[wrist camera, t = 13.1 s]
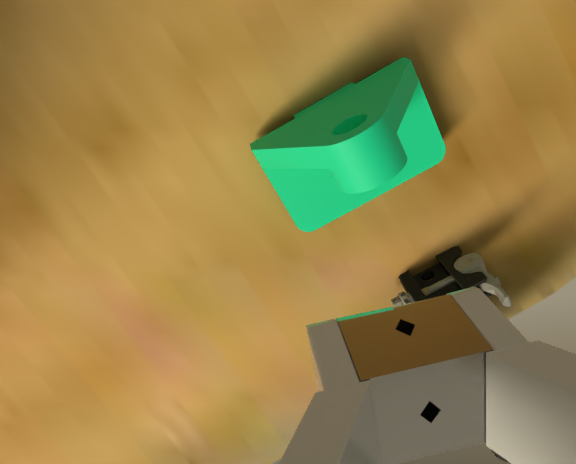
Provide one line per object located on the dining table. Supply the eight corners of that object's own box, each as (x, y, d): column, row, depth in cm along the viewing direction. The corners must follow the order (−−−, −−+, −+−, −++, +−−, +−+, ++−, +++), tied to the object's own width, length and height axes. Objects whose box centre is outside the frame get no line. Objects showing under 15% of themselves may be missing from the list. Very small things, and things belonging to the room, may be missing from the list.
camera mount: (297, 222, 40) (322, 291, 31) (249, 140, 37) (260, 188, 28) (435, 147, 39) (504, 194, 30) (397, 55, 36) (461, 76, 27)
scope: (570, 341, 30) (602, 442, 35) (466, 239, 43) (499, 323, 47) (444, 401, 31) (492, 493, 35) (378, 284, 43) (419, 363, 48)
